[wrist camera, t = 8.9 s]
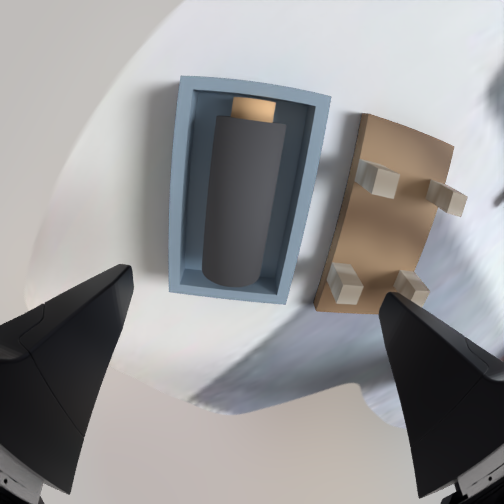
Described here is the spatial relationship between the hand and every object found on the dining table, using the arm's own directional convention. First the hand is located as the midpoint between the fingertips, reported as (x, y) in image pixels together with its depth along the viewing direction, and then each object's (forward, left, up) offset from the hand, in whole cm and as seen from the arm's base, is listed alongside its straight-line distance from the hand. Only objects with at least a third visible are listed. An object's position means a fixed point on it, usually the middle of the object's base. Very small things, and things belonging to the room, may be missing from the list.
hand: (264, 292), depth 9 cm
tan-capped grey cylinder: (0, +1, -11) cm, 11 cm away
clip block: (-1, -10, -12) cm, 16 cm away
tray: (0, +1, -12) cm, 12 cm away
